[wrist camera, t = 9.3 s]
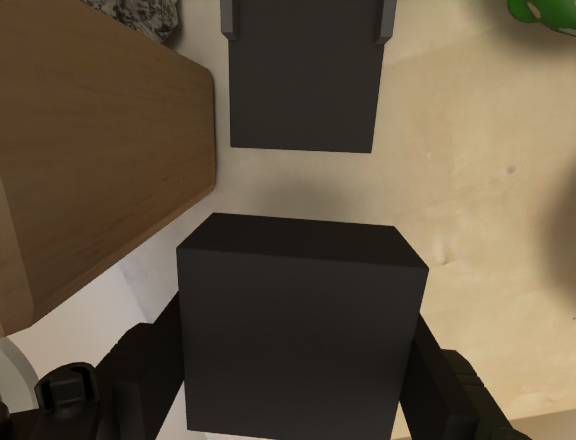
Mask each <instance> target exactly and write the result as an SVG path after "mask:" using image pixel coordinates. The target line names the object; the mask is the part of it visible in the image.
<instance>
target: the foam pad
mask: <svg viewBox="0 0 576 440" xmlns="http://www.w3.org/2000/svg"><path fill="white" fill-rule="evenodd" d="M176 255H177V271H178V287H179V304H180V317H181V327H182V343H183V359H184V376H185V379H184V385H185V401H186V416H187V417H186V418H187V430H191V431H201V432H210V433H219V434H229V435H238V436H247V437H257V438H266V439H275V440H390V438H391V434H392V429H393V425H394V421H395V416H396V412H397V408H398V403H399V398H400V393H401V389H402V384H403V380H404V376H405V371H406V367H407V362H408V358H409V354H410V349H411V345H412V341H413V338H414V333H415V329H416V325H417V320H418V316H419V312H420V307H421V303H422V299H423V294H424V290H425V286H426V281H427V277H428V272H429V267H428V266H427V265H426V264H425V263H424V261H423V260H422V259H421V258H420V257H419V255H418V254H417V253H416V252H415V251H414V249H413V248H412V247H411V246H410V245H409V243H408V242H407V241H406V240H405V239H404V237H403V236H402V235H401V234H400V232H399V231H398V230H397V229H396V228H395V227H394V226H385V225H371V224H358V223H345V222H332V221H319V220H306V219H293V218H280V217H267V216H253V215H240V214H227V213H212V214H211V215H210V216H209V217H208V218H207V219H206V220H205V221H204V222H203V223H202V224H201V225H200V226H199V227H197V228H196V229H195V230H194V231H193V232H192V233H191V234H190V235H189V236H188V237H187V238H186V239H185V240H184V241H183V242H182V243H181V244H180V245H179V246H178V247H177V248H176Z"/></svg>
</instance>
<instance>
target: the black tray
mask: <svg viewBox="0 0 576 440" xmlns="http://www.w3.org/2000/svg"><path fill="white" fill-rule="evenodd" d="M396 2H397V0H220V9H221V32H222V34H223V35H224V36H225V37H226V38H227V39H228V43H229V93H230V142H231V147H238V148H261V149H283V150H306V151H329V152H351V153H371V151H372V143H373V135H374V126H375V118H376V110H377V102H378V93H379V85H380V77H381V69H382V61H383V52H384V44H385V43H386V42H387V41H388V40H389V39H390V38H391V37H392V34H393V26H394V18H395V10H396Z"/></svg>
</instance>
